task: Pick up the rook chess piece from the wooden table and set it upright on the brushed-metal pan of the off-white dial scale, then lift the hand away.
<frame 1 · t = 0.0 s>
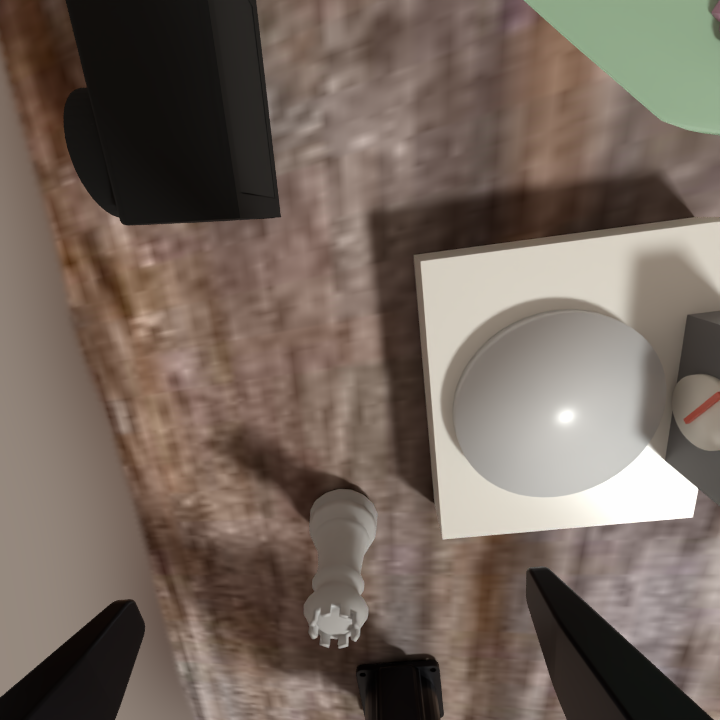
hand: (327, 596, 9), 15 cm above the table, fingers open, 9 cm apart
digital camera: (211, 104, 19), on the table
rook chess piece: (344, 510, 27), on the table
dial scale: (546, 380, 23), on the table
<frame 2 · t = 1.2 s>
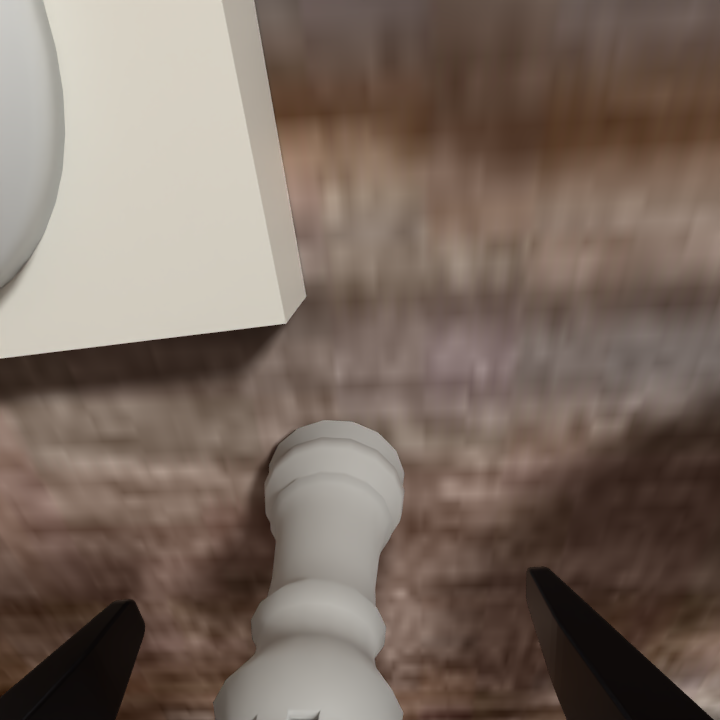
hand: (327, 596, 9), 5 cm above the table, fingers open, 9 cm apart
rook chess piece: (337, 467, 14), on the table
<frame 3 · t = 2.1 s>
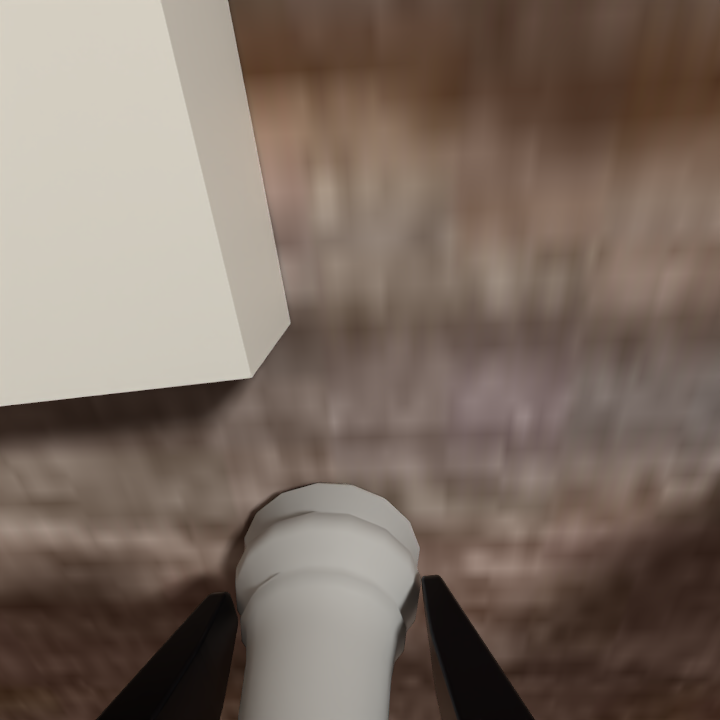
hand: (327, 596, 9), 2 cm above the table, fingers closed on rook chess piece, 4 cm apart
rook chess piece: (333, 535, 11), on the table, touching gripper
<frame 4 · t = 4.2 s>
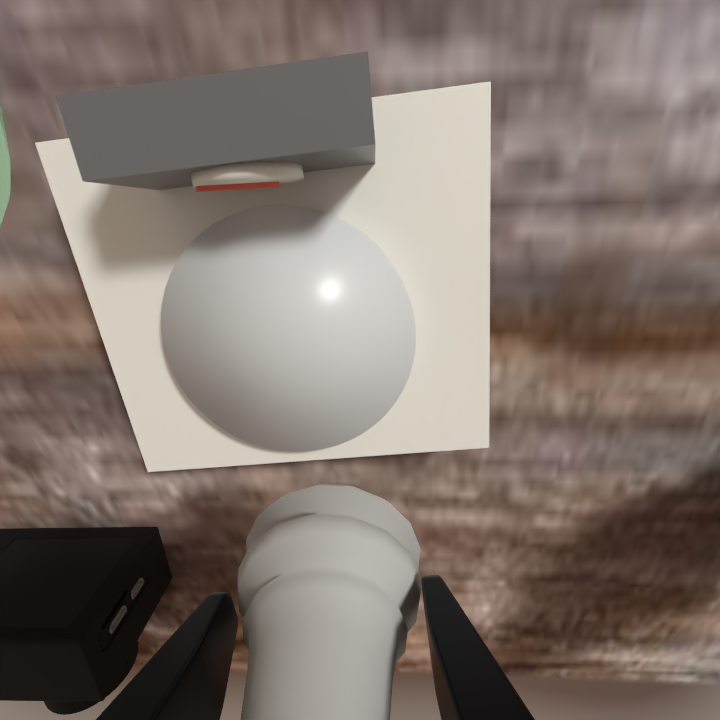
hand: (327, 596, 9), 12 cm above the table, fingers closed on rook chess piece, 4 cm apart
digital camera: (90, 558, 25), on the table
rook chess piece: (334, 537, 11), point 10 cm above the table, touching gripper
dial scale: (300, 297, 19), on the table
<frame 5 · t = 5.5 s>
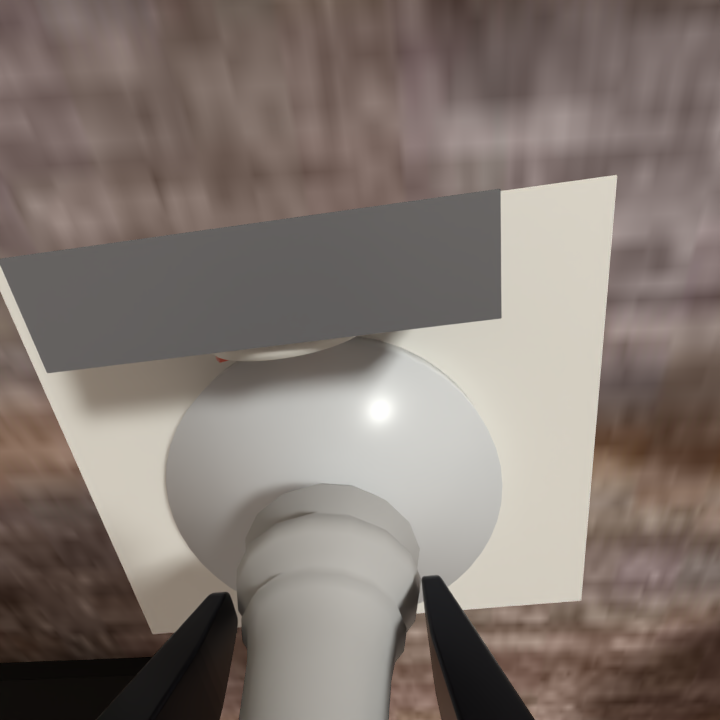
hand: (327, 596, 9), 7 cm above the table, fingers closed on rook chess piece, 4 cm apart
digital camera: (84, 688, 22), on the table
rook chess piece: (334, 536, 11), point 5 cm above the table, touching gripper
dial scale: (337, 412, 15), on the table
when the fingers open (7 cm above the table, at t = 6.1 s): rook chess piece drops 1 cm, resting on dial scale.
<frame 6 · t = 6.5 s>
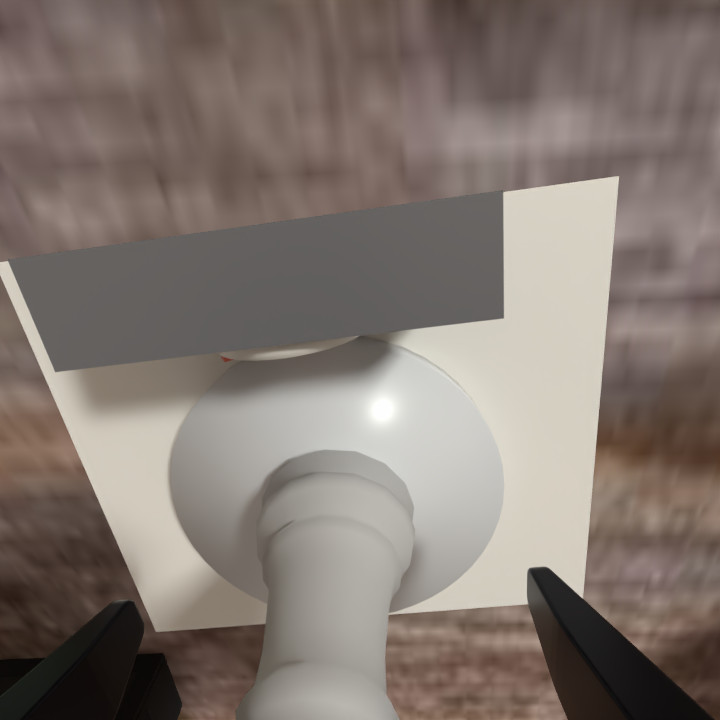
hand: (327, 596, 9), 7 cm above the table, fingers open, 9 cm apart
digital camera: (86, 685, 22), on the table
rook chess piece: (339, 498, 12), point 4 cm above the table, touching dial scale
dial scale: (340, 412, 15), on the table
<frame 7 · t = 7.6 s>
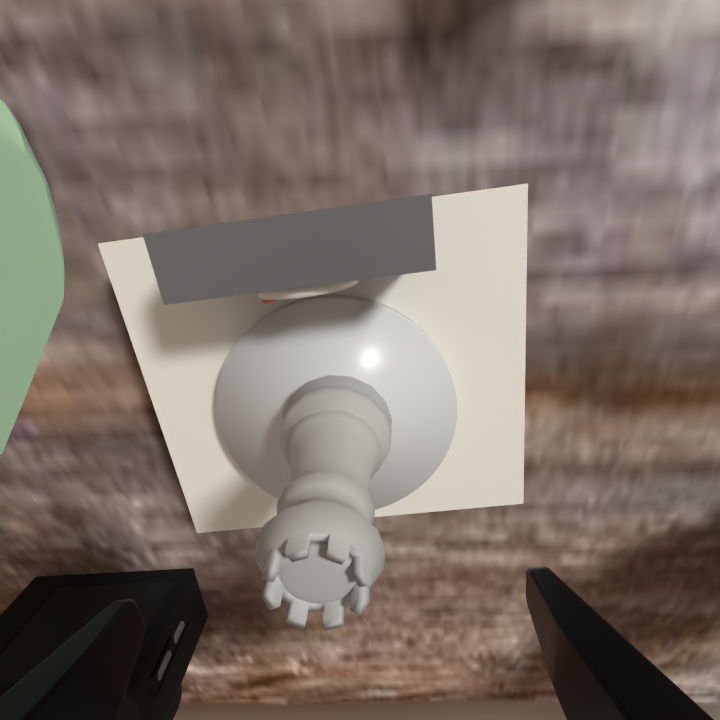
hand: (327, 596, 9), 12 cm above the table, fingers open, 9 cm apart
digital camera: (128, 600, 26), on the table
rook chess piece: (338, 417, 17), point 4 cm above the table, touching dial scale
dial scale: (339, 363, 20), on the table
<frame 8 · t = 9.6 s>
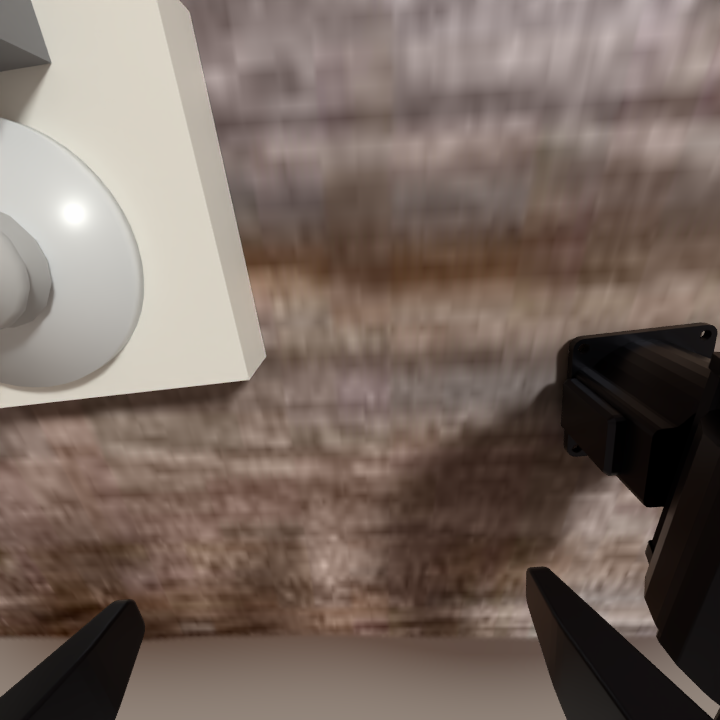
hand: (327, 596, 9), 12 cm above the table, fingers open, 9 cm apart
rook chess piece: (4, 266, 15), point 4 cm above the table, touching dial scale
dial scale: (61, 232, 18), on the table
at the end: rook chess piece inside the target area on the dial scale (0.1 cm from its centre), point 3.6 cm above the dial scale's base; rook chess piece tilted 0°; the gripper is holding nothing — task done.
